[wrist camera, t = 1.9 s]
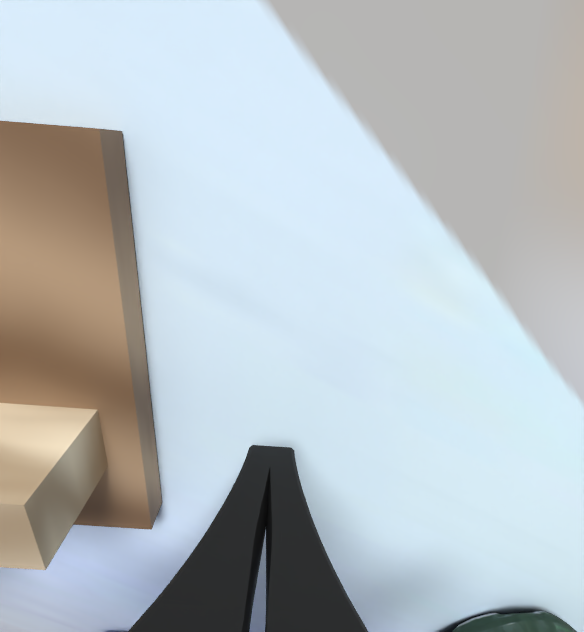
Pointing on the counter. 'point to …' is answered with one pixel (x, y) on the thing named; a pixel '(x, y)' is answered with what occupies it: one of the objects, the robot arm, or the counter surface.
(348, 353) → the counter surface
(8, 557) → the t block
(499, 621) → the coffee jar
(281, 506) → the robot arm
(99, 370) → the board
